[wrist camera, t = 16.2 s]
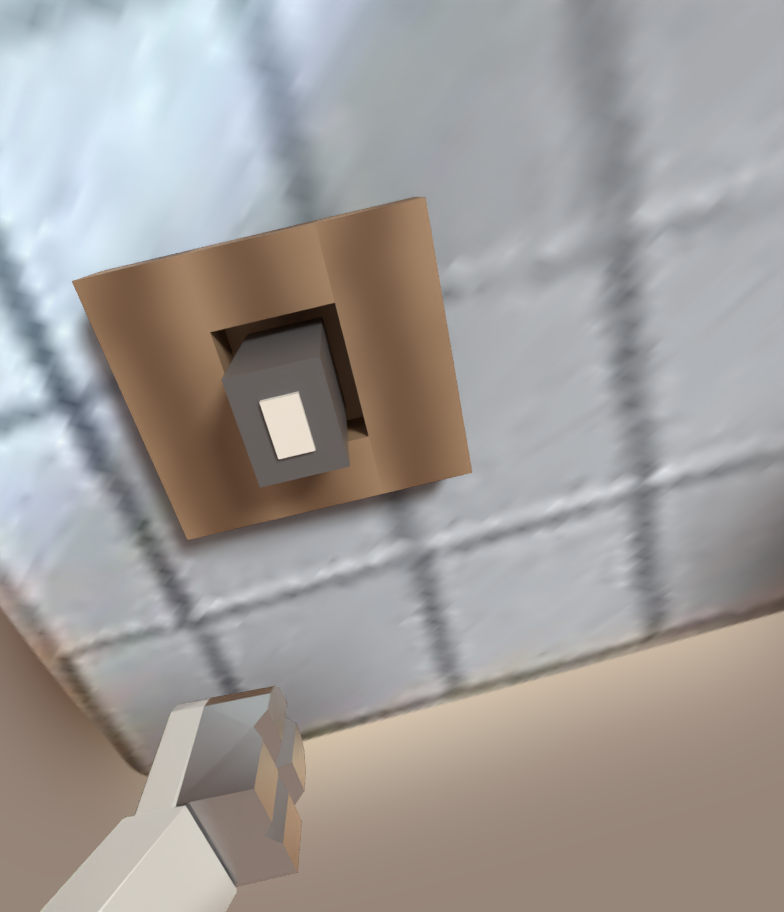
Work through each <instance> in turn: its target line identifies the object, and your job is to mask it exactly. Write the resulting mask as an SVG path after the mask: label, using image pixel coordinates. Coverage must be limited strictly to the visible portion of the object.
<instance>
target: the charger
mask: <svg viewBox="0 0 784 912" xmlns="http://www.w3.org/2000/svg"><path fill="white" fill-rule="evenodd" d="M221 380H222V383H223V386H224V389H225V392H226V394H227V397H228V400H229V403H230V405H231V408H232V411H233V414H234V417H235V419H236V422H237V425H238V428H239V431H240V433H241V436H242V439H243V442H244V444H245V447H246V450H247V453H248V456H249V458H250V461H251V464H252V467H253V470H254V472H255V475H256V478H257V481H258V483H259V486H260V488H261V487H265V486H269V485H273V484H278V483H282V482H286V481H290V480H295V479H299V478H303V477H307V476H312V475H316V474H320V473H324V472H329V471H333V470H337V469H341V468H346V467H350V461H349V447H348V434H347V420H346V406H345V401H344V397H343V394H342V390H341V386H340V382H339V378H338V375H337V371H336V367H335V363H334V359H333V356H332V352H331V348H330V344H329V340H328V337H327V333H326V329H325V325H324V321H323V318H322V317H318V318H314V319H310V320H305V321H301V322H297V323H293V324H288V325H284V326H280V327H276V328H271V329H267V330H263V331H259V332H254V333H250V334H247V336H246V338H245V340H244V341H243V343H242V345H241V346H240V348H239V350H238V352H237V353H236V355H235V357H234V358H233V360H232V362H231V364H230V365H229V367H228V369H227V370H226V372H225V374H224V375H223V377H222V379H221Z"/></svg>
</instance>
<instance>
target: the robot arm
mask: <svg viewBox="0 0 784 912" xmlns="http://www.w3.org/2000/svg"><path fill="white" fill-rule="evenodd" d="M286 708H287V701H286V699H285V697H284V695H283V693H282V691H281V689H280V687H275V686H273V687H268V688H262V689H257V690H251V691H246V692H240V693H235V694H229V695H224V696H218V697H213V698H210V699H206V700H200V701H195V702H189V703H184V704H178V705H177V706H176V707H175V709H174V710H173V711H172V712H171V714H170V715H169V718H168V721H167V724H166V727H165V729H164V732H163V735H162V738H161V741H160V744H159V746H158V749H157V752H156V755H155V758H154V761H153V764H152V766H151V769H150V772H149V775H148V778H147V781H146V784H145V786H144V789H143V792H142V795H141V798H140V801H139V804H138V807H137V809H136V812H135V815H134V816H129V817H125V818H123V819H122V820H121V821H120V822H119V824H118V825H117V826H116V827H115V828H114V829H113V830H112V831H111V832H110V834H109V835H108V836H107V837H106V838H105V839H104V840H103V841H102V843H101V844H100V845H99V846H98V847H97V848H96V849H95V850H94V851H93V853H92V854H91V855H90V856H89V857H88V858H87V859H86V860H85V862H84V863H83V864H82V865H81V866H80V867H79V868H78V869H77V870H76V872H75V873H74V874H73V875H72V876H71V877H70V878H69V879H68V880H67V882H66V883H65V884H64V885H63V886H62V887H61V888H60V889H59V891H58V892H57V893H56V894H55V895H54V896H53V897H52V898H51V900H50V901H49V902H48V903H47V904H46V905H45V906H44V907H43V908H42V909H41V911H40V912H226V910H227V909H228V907H229V905H230V903H231V902H232V900H233V898H234V896H235V894H236V893H237V888H236V887H237V886H242V885H246V884H250V883H255V882H259V881H263V880H268V879H272V878H276V877H281V876H285V875H290V874H294V873H298V862H299V850H300V839H301V827H302V821H301V819H300V817H299V815H298V812H297V810H296V808H295V806H294V805H295V804H296V802H297V801H298V799H299V798H300V796H301V795H302V793H303V792H304V789H305V774H306V767H305V754H304V747H303V743H302V738H301V734H300V732H299V729H298V727H297V725H296V723H295V722H293V721H291V720H290V719H288V718H286V717H285V716H286Z"/></svg>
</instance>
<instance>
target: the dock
mask: <svg viewBox="0 0 784 912" xmlns="http://www.w3.org/2000/svg"><path fill="white" fill-rule="evenodd" d="M72 283H73V285H74V287H75V289H76V292H77V294H78V296H79V298H80V301H81V303H82V305H83V307H84V310H85V312H86V314H87V316H88V319H89V321H90V323H91V325H92V327H93V330H94V332H95V334H96V336H97V339H98V341H99V343H100V345H101V348H102V350H103V352H104V354H105V357H106V359H107V361H108V363H109V366H110V368H111V370H112V372H113V374H114V377H115V379H116V381H117V383H118V386H119V388H120V390H121V392H122V395H123V397H124V399H125V401H126V404H127V406H128V408H129V410H130V412H131V415H132V417H133V419H134V421H135V424H136V426H137V428H138V430H139V433H140V435H141V437H142V439H143V442H144V444H145V446H146V448H147V451H148V453H149V455H150V457H151V459H152V462H153V464H154V466H155V468H156V471H157V473H158V475H159V477H160V480H161V482H162V484H163V486H164V489H165V491H166V493H167V495H168V497H169V500H170V502H171V504H172V506H173V509H174V511H175V513H176V515H177V518H178V520H179V522H180V524H181V527H182V529H183V531H184V533H185V536H186V538H187V540H190V539H194V538H199V537H203V536H207V535H211V534H215V533H220V532H224V531H228V530H232V529H236V528H241V527H245V526H249V525H253V524H258V523H262V522H266V521H270V520H274V519H279V518H283V517H287V516H291V515H296V514H300V513H304V512H308V511H312V510H317V509H321V508H325V507H329V506H333V505H338V504H342V503H346V502H350V501H355V500H359V499H363V498H367V497H371V496H376V495H380V494H384V493H388V492H393V491H397V490H401V489H405V488H409V487H414V486H418V485H422V484H426V483H430V482H435V481H439V480H443V479H447V478H452V477H456V476H460V475H464V474H468V473H472V469H471V463H470V457H469V451H468V445H467V439H466V433H465V427H464V422H463V416H462V410H461V404H460V398H459V392H458V386H457V380H456V375H455V369H454V363H453V357H452V351H451V345H450V339H449V333H448V328H447V322H446V316H445V310H444V304H443V298H442V292H441V286H440V281H439V275H438V269H437V263H436V257H435V251H434V245H433V239H432V233H431V228H430V222H429V216H428V210H427V204H426V198H425V197H412V198H408V199H404V200H400V201H396V202H391V203H387V204H383V205H379V206H374V207H370V208H366V209H362V210H358V211H353V212H349V213H345V214H341V215H337V216H332V217H328V218H324V219H320V220H315V221H311V222H307V223H303V224H299V225H294V226H290V227H286V228H282V229H277V230H273V231H269V232H265V233H261V234H256V235H252V236H248V237H244V238H240V239H235V240H231V241H227V242H223V243H218V244H214V245H210V246H206V247H202V248H197V249H193V250H189V251H185V252H181V253H176V254H172V255H168V256H164V257H159V258H155V259H151V260H147V261H143V262H138V263H134V264H130V265H126V266H121V267H117V268H113V269H109V270H105V271H101V272H98V273H95V274H92V275H89V276H86V277H83V278H80V279H77V280H74V281H72ZM318 317H322V318H323V321H324V325H325V329H326V333H327V337H328V340H329V344H330V348H331V352H332V356H333V359H334V363H335V367H336V371H337V375H338V378H339V382H340V386H341V390H342V394H343V397H344V401H345V406H346V420H347V434H348V447H349V461H350V467H346V468H341V469H337V470H333V471H329V472H324V473H320V474H316V475H312V476H307V477H303V478H299V479H295V480H290V481H286V482H282V483H278V484H273V485H269V486H265V487H261V488H260V486H259V483H258V481H257V478H256V475H255V472H254V470H253V467H252V464H251V461H250V458H249V456H248V453H247V450H246V447H245V444H244V442H243V439H242V436H241V433H240V431H239V428H238V425H237V422H236V419H235V417H234V414H233V411H232V408H231V405H230V403H229V400H228V397H227V394H226V392H225V389H224V386H223V383H222V380H221V379H222V377H223V375H224V374H225V372H226V370H227V369H228V367H229V365H230V364H231V362H232V360H233V358H234V357H235V355H236V353H237V352H238V350H239V348H240V346H241V345H242V343H243V341H244V340H245V338H246V336H247V334H250V333H254V332H259V331H263V330H267V329H271V328H276V327H280V326H284V325H288V324H293V323H297V322H301V321H305V320H310V319H314V318H318Z"/></svg>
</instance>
